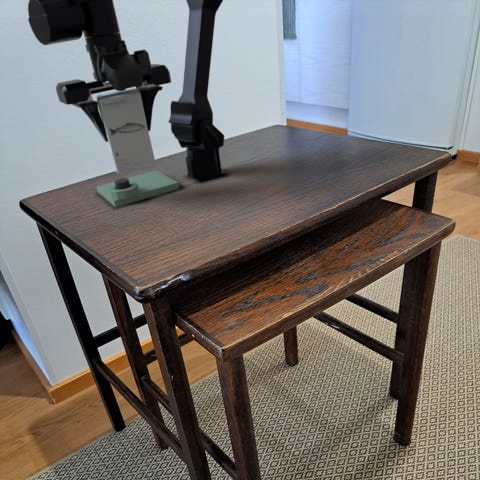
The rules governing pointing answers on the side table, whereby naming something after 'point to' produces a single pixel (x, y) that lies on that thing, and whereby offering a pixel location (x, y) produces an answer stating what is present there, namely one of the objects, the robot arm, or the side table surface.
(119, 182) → the button
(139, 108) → the white packaging box
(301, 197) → the side table surface
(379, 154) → the side table surface
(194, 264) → the side table surface
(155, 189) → the scale
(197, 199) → the side table surface
